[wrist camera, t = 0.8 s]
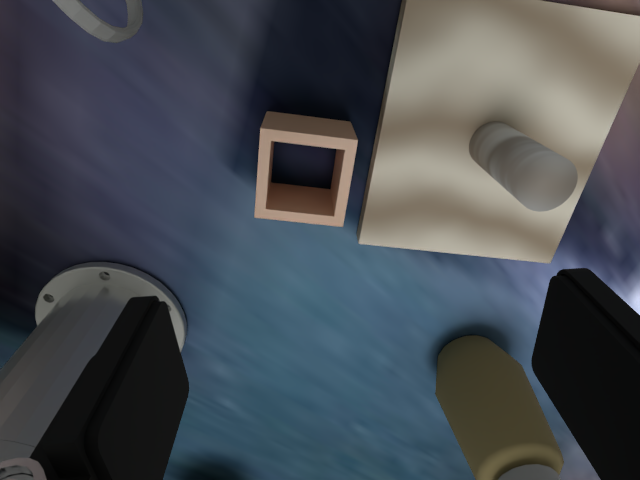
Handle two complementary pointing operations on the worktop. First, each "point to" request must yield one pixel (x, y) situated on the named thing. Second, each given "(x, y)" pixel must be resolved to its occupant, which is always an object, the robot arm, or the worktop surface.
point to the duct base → (480, 86)
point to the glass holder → (96, 26)
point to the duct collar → (301, 199)
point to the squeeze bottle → (495, 413)
